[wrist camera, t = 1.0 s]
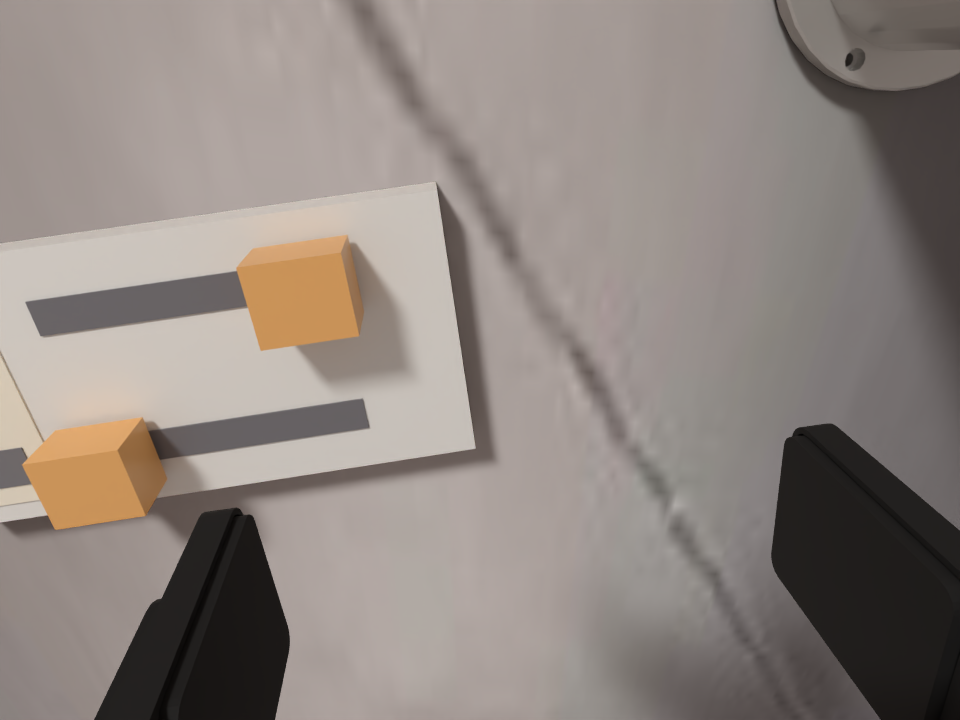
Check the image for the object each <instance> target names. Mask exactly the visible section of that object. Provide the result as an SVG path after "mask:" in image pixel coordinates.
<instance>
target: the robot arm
mask: <svg viewBox="0 0 960 720" xmlns="http://www.w3.org/2000/svg"><path fill="white" fill-rule="evenodd" d="M776 1H777V5H778V9H779V13H780V16H781V18H782V20H783V22H784V24H785V26H786V29H787V31H788V33H789V35H790V37H791V39H792V40H793V42H794V43H795V44H796V46H797V47H798V48H799V50H800V51H801V52H802V54H803V55H804V56H805V57H806V59H807V60H808V61H810V62H811V63H812V64H813V65H814V66H816V67H817V68H818V69H819V70H821V71H822V72H823V73H824V74H826V75H827V76H829V77H831V78H834V79H836V80H838V81H840V82H842V83H844V84H847V85H849V86H854V87H859V88H865V89H870V90H888V91H901V90H909V89H916V88H923V87H926V86H929V85H932V84H935V83H938V82H941V81H944V80H947V79H950V78H952V77H954V76H956V75H958V74H959V73H960V0H776ZM846 56H847V61H846V63H845V59H846ZM771 558H772V564H773V567H774V570H775V572H776V574H777V576H778V577H779V579H780V580H781V582H782V583H783V584H784V586H785V587H786V589H787V590H788V591H789V593H790V594H791V595H792V597H793V598H794V600H795V601H796V602H797V604H798V605H799V607H800V608H801V609H802V611H803V612H804V614H805V615H806V616H807V618H808V619H809V621H810V622H811V623H812V625H813V626H814V627H815V629H816V630H817V632H818V633H819V634H820V636H821V637H822V639H823V640H824V641H825V643H826V644H827V646H828V647H829V648H830V650H831V651H832V652H833V654H834V655H835V657H836V658H837V659H838V661H839V662H840V664H841V665H842V666H843V668H844V669H845V671H846V672H847V673H848V675H849V676H850V678H851V679H852V680H853V682H854V683H855V684H856V686H857V687H858V689H859V690H860V691H861V693H862V694H863V696H864V697H865V698H866V700H867V701H868V703H869V704H870V705H871V707H872V708H873V710H874V711H875V712H876V714H877V715H878V716H879V718H880V719H881V720H960V531H959V530H958V529H957V528H956V527H955V526H954V525H952V524H951V523H950V522H949V521H948V520H946V519H945V518H944V517H943V516H942V515H941V514H939V513H938V512H937V511H936V510H935V509H934V508H932V507H931V506H930V505H929V504H928V503H926V502H925V501H924V500H923V499H922V498H921V497H919V496H918V495H917V494H916V493H915V492H913V491H912V490H911V489H910V488H909V487H908V486H906V485H905V484H904V483H903V482H902V481H900V480H899V479H898V478H897V477H896V476H895V475H893V474H892V473H891V472H890V471H889V470H888V469H886V468H885V467H884V466H883V465H882V464H880V463H879V462H878V461H877V460H876V459H875V458H873V457H872V456H871V455H870V454H869V453H867V452H866V451H865V450H864V449H863V448H862V447H860V446H859V445H858V444H857V443H856V442H854V441H853V440H852V439H851V438H850V437H849V436H847V435H846V434H845V433H844V432H843V431H842V430H840V429H839V428H838V427H837V426H835V425H833V424H821V425H814V426H807V427H800V428H797V429H795V431H794V433H793V436H792V437H789V438H787V439H786V441H785V444H784V450H783V459H782V467H781V476H780V484H779V493H778V501H777V510H776V518H775V527H774V536H773V544H772V553H771ZM289 646H290V636H289V629H288V625H287V622H286V619H285V616H284V613H283V609H282V606H281V603H280V600H279V597H278V593H277V590H276V587H275V584H274V581H273V577H272V574H271V571H270V568H269V565H268V561H267V558H266V555H265V552H264V549H263V545H262V542H261V539H260V536H259V533H258V529H257V526H256V523H255V520H254V518H253V516H252V515H243V514H242V512H241V510H240V509H239V508H231V509H224V510H217V511H210V512H204V513H202V514H201V516H200V517H199V519H198V521H197V523H196V526H195V528H194V530H193V532H192V534H191V536H190V539H189V541H188V543H187V545H186V547H185V549H184V551H183V554H182V556H181V558H180V560H179V562H178V564H177V567H176V569H175V571H174V573H173V575H172V577H171V579H170V582H169V584H168V586H167V588H166V590H165V592H164V595H163V597H162V599H157V600H156V601H154V602H153V603H152V604H151V605H150V607H149V608H148V610H147V611H146V613H145V615H144V617H143V619H142V621H141V624H140V626H139V628H138V630H137V632H136V634H135V636H134V638H133V640H132V642H131V644H130V646H129V648H128V651H127V653H126V655H125V657H124V659H123V661H122V663H121V665H120V667H119V669H118V671H117V673H116V675H115V678H114V680H113V682H112V684H111V686H110V688H109V690H108V692H107V694H106V696H105V698H104V700H103V703H102V705H101V707H100V709H99V711H98V713H97V715H96V717H95V719H94V720H275V717H276V712H277V707H278V702H279V697H280V692H281V688H282V683H283V678H284V673H285V668H286V663H287V658H288V653H289Z"/></svg>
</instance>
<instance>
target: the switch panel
mask: <svg viewBox="0 0 960 720" xmlns="http://www.w3.org/2000/svg"><path fill="white" fill-rule="evenodd" d="M342 235H348V239H349V243H350V248H351V253H352V257H353V262H354V267H355V271H356V276H357V281H358V285H359V290H360V295H361V299H362V304H363V309H364V315H363V320H362V325H361V330H360V335H359V336H358V337H351V338H344V339H337V340H331V341H324V342H317V343H311V344H304V345H297V346H290V347H284V348H277V349H270V350H264V351H261V350H260V347H259V344H258V340H257V337H256V334H255V330H254V327H253V323H252V320H251V317H250V313H249V310H248V307H247V303H246V300H245V297H244V293H243V290H242V286H241V283H240V280H239V276H238V273H237V270H236V267H237V266H238V265H239V264H240V263H241V261H242V260H243V259H244V258H245V257H246V256H247V254H248V253H249V252H250V251H251V250H252V249H253V248H259V247H266V246H273V245H280V244H287V243H294V242H301V241H308V240H315V239H322V238H329V237H336V236H342ZM141 417H143V419H144V422H145V424H146V427H147V429H148V432H149V434H150V437H151V439H152V442H153V444H154V447H155V449H156V452H157V454H158V457H159V459H160V462H161V464H162V467H163V469H164V472H165V474H166V477H167V481H166V482H165V484H164V486H163V488H162V489H161V491H160V493H159V494H158V496H157V498H161V497H168V496H174V495H181V494H187V493H194V492H200V491H206V490H213V489H219V488H226V487H232V486H239V485H245V484H251V483H258V482H264V481H271V480H277V479H284V478H290V477H297V476H303V475H309V474H316V473H322V472H329V471H335V470H342V469H348V468H354V467H361V466H367V465H374V464H380V463H387V462H393V461H400V460H406V459H412V458H419V457H425V456H432V455H438V454H445V453H451V452H457V451H464V450H470V449H476V447H475V441H474V434H473V427H472V421H471V414H470V407H469V400H468V394H467V387H466V380H465V374H464V367H463V360H462V353H461V347H460V340H459V333H458V327H457V320H456V313H455V307H454V300H453V293H452V286H451V280H450V273H449V266H448V260H447V253H446V246H445V239H444V233H443V226H442V219H441V213H440V206H439V199H438V192H437V186H436V182H429V183H422V184H415V185H408V186H401V187H394V188H387V189H380V190H373V191H366V192H359V193H352V194H345V195H338V196H331V197H324V198H317V199H310V200H303V201H296V202H289V203H281V204H274V205H267V206H260V207H253V208H246V209H239V210H232V211H225V212H218V213H211V214H204V215H197V216H190V217H183V218H176V219H169V220H162V221H155V222H148V223H141V224H134V225H127V226H120V227H113V228H106V229H99V230H91V231H84V232H77V233H70V234H63V235H56V236H49V237H42V238H35V239H28V240H21V241H14V242H7V243H0V522H7V521H13V520H20V519H26V518H33V517H39V516H46V515H47V513H46V511H45V509H44V507H43V505H42V503H41V501H40V499H39V497H38V495H37V493H36V492H35V490H34V488H33V486H32V484H31V482H30V480H29V478H28V476H27V474H26V472H25V470H24V468H23V466H22V464H23V463H24V462H25V461H26V460H27V459H28V458H29V457H30V456H31V455H32V454H33V453H34V452H35V451H36V450H37V449H38V448H39V447H40V446H41V445H42V444H43V442H44V441H45V440H46V439H47V438H48V437H49V436H50V435H51V434H52V433H53V432H54V431H55V430H61V429H68V428H74V427H81V426H88V425H94V424H101V423H108V422H114V421H121V420H127V419H134V418H141Z"/></svg>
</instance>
